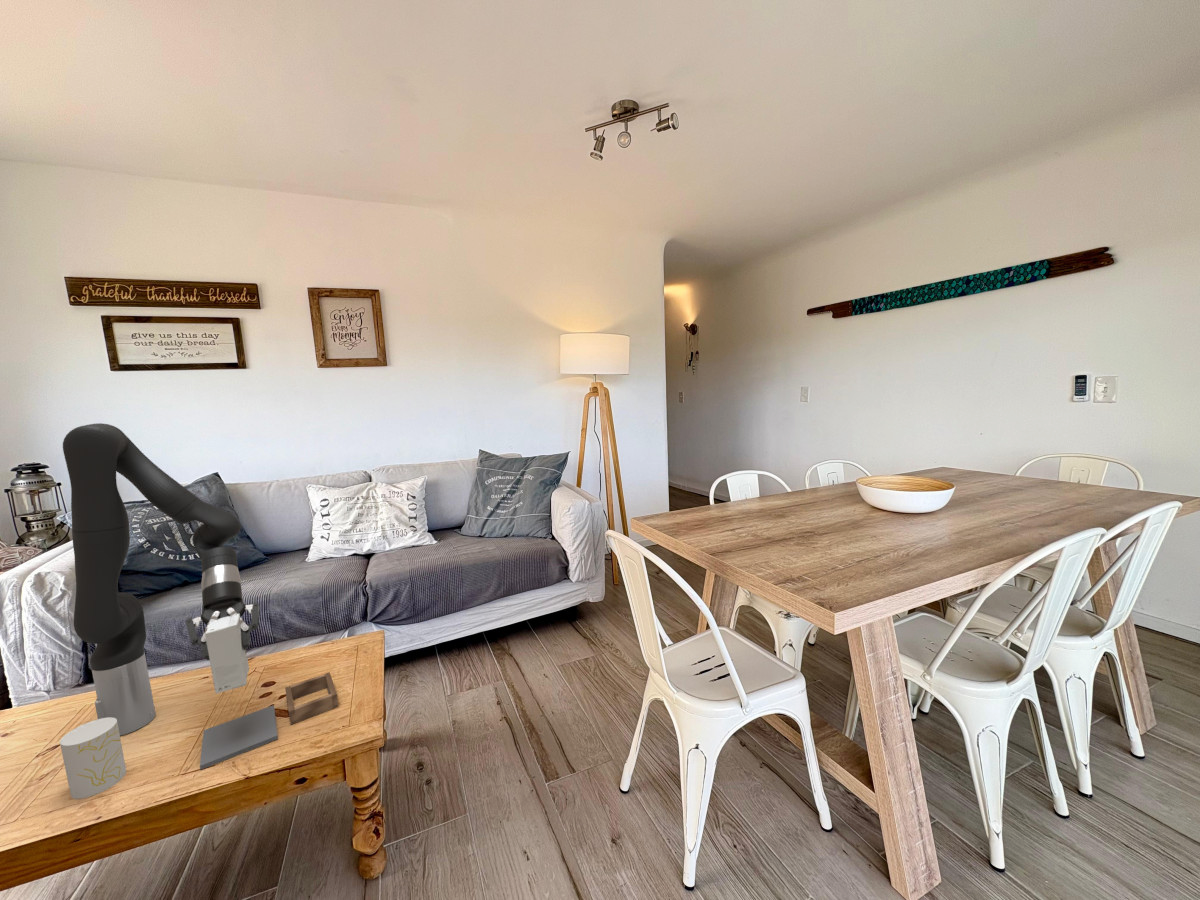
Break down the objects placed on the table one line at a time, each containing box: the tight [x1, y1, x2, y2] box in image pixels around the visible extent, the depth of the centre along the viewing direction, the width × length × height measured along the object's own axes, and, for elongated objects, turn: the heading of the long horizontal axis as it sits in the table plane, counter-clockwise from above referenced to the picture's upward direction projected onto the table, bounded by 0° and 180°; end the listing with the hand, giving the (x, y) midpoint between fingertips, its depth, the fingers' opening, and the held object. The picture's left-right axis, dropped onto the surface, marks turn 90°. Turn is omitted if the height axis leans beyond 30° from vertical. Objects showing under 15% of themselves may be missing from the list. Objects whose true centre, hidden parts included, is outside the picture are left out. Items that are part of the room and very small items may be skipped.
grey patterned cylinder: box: [59, 717, 127, 800], centre depth 99 cm, size 8×8×12 cm
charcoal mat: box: [199, 704, 279, 771], centre depth 112 cm, size 14×14×1 cm
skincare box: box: [205, 613, 250, 694], centre depth 109 cm, size 8×6×15 cm
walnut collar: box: [284, 672, 339, 726], centre depth 123 cm, size 10×12×4 cm
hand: (227, 653), depth 108 cm, fingers closed on skincare box, 6 cm apart
